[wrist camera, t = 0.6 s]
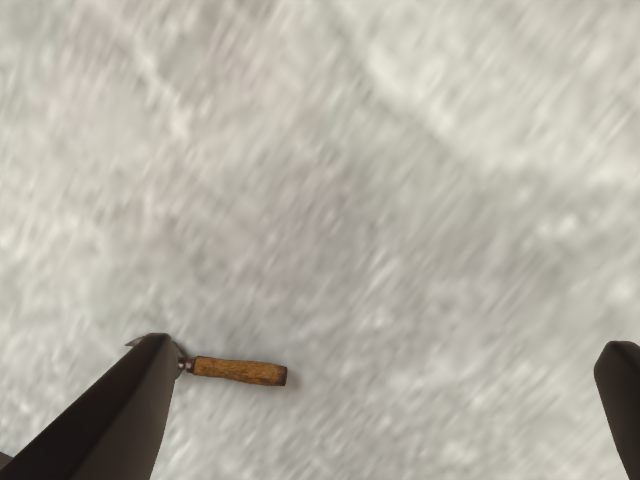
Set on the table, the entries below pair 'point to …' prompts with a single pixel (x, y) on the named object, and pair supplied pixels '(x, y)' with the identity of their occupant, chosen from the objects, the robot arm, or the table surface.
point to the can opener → (229, 368)
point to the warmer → (4, 460)
